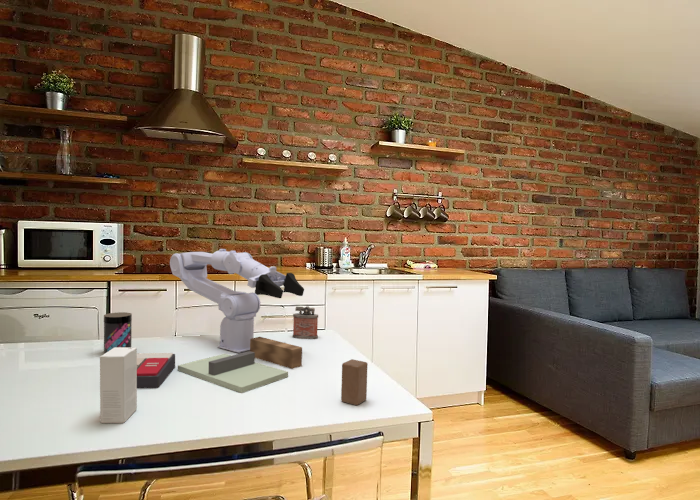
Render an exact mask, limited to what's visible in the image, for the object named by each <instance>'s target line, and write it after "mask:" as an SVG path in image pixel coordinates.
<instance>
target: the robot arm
mask: <svg viewBox="0 0 700 500" xmlns="http://www.w3.org/2000/svg"><path fill="white" fill-rule="evenodd" d="M208 265H211V267H212V268H213V269H214V270H218V271H224V272H227V273H228V274H229V275H232V274H237V275H239V276H240V277H242V278H244V279H245V280H247V286H248V287H249V288H252V289H254V288H255V290H254V292H253V291H252V292H245V291H238V290H233V289H231V288H229V287H227V286H224V285H222V284H220V283H217V282H215V281H214V280H211V279H209V278H208V270H207V269H208V268H207V266H208ZM169 267H170V270H171V273H172V275H173V276H175V277H177V278H179V279H180V280H181V282H182V283H183V284H184V285H185V286H186V288H187V289H189V291H191V292H193V293H195V294H197V295H200V296H201V297H204V298H206V299H208V300H209V301H211V302H214V303H216V304H218V305H217V306H218V310H219V311H221V312H222V313H223V315H224V316H225V317H223V319H222V320H221V322H220V325H219V326H220V327H219V328H220V329H219V331H220V332H219V344H218V345H217V348H219V349H223V350H227V351H230V352H234V353H236V354H240V353H244V352H248V351H250V339H252V338H255V337H254V334H255V333H254V331H255V329H254V328H255V317H257V313H259V311H260V309H261V299H260V297H259V296H260V295H262V296H263V295H264V296H267V297H268V296H269V297H273V298H275V299H282V298H283V293H290V294H293V295H296V296H298V297H303V295H304V292H305V288H304V287H303V285H301V284H300V282H298V279H297V278H296V276H295V274H294V273H293V272H286V274H283V273H282V272H279V271H277V266H270V267H267V266H266V265H264V264H262V263H261V262H259V261H257V260H256V259H253V256H252V255H251V254H250V253H249V252H246V251H243V252H237V251H236V250H230V251H227V249H226V248H219V250H216V251H214V252H213V253H211V252H205V251H189V252H187V251H186V252H178V253H173V254H172V255H171V257H170V259H169ZM282 286H283V288H281V287H282Z"/></svg>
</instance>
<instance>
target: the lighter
mask: <svg viewBox="0 0 700 500" xmlns="http://www.w3.org/2000/svg"><path fill="white" fill-rule="evenodd" d="M315 309H316V308H315V307H310V306H307V305H306V306H305V307H303V306H296V307H295V312H296V311H297V312H298V313H293V314H292V318H293V328H292V329H293V330H292V333H293V334H292V338H293V339H299V340H300V339H301V340H318V337H319V336H318V325H319V324H318V323H319V321H318V319H319V314H318V313H317V314H316V313H315Z"/></svg>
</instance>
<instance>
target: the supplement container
mask: <svg viewBox="0 0 700 500" xmlns="http://www.w3.org/2000/svg"><path fill="white" fill-rule="evenodd" d="M132 315H133V313H131V312H123V311H122V312H119V311H118V312H110V313H105V314H104V315H103V354H105V353H107V352H108V351H110V350H111V349H113V348H115V347H126V348H132V338H133V337H132V332H133V331H132V328H133V327H132V325H133V324H132V320H133V317H132Z"/></svg>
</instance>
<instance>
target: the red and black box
mask: <svg viewBox="0 0 700 500" xmlns="http://www.w3.org/2000/svg"><path fill="white" fill-rule="evenodd" d="M175 368H176V354H175V353H173V352H153V353H152V352H149V353H148V352H141V353H140V352H139V353H138V352H137V389H159V388H160V387H161V386H162V384H163V383H164V382H165V381H166V380H167V378H168V377H169V376H170V374H171V373H172V372H173V371H174V369H175Z"/></svg>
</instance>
